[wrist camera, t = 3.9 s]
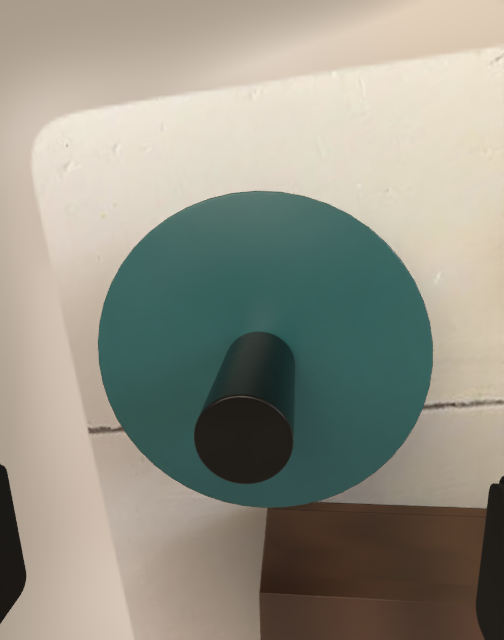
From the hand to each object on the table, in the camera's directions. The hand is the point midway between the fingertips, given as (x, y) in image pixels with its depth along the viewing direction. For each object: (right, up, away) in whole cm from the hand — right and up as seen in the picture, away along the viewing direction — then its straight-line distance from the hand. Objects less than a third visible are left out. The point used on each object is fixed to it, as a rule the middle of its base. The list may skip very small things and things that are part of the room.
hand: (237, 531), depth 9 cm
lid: (+1, +3, +9) cm, 9 cm away
